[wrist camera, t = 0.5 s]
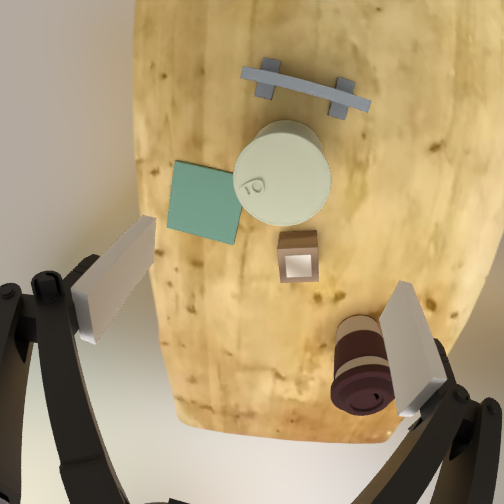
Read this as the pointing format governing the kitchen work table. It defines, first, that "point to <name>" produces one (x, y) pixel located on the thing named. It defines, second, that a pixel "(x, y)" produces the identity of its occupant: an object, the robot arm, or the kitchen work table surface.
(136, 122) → the kitchen work table surface
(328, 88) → the screen
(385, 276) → the kitchen work table surface
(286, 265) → the letter cube
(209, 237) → the mat
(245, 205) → the can
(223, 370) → the kitchen work table surface
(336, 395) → the coffee cup
